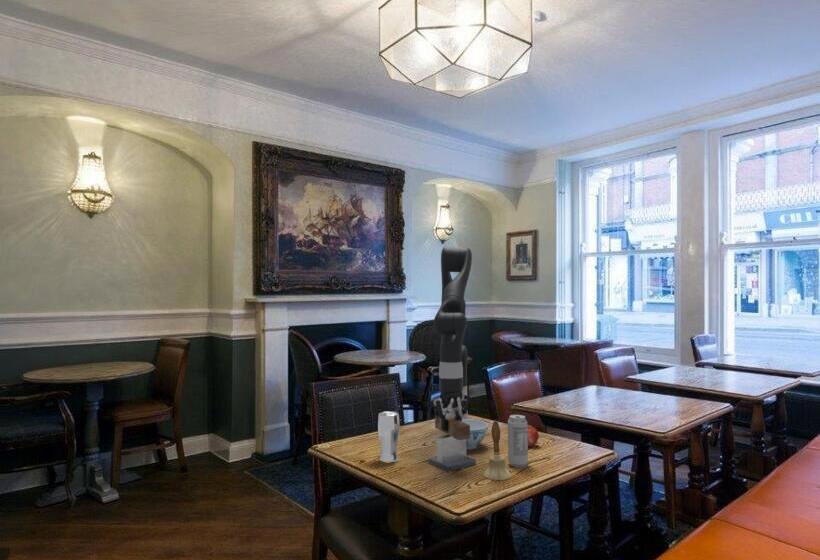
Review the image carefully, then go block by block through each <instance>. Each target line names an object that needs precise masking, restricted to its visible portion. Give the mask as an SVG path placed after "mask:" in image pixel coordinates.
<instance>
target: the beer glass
mask: <svg viewBox="0 0 820 560" xmlns="http://www.w3.org/2000/svg"><path fill="white" fill-rule="evenodd" d="M377 432H378V433H377V434H378V439H379V444H380V454H379V455H380V456H379V461H380V462H381V461H382V462H381V463H383V462H395V463H397V462H398V461H399V454H398V445H399V443H398V442H399V439H400V438H399V437H400V415H399V412H397V411H382V412H379V413H378V420H377ZM396 461H397V462H396Z"/></svg>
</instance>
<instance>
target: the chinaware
mask: <svg viewBox="0 0 820 560" xmlns="http://www.w3.org/2000/svg"><path fill="white" fill-rule="evenodd" d="M462 422H464V423H466V424H468V425H470V439H466V450H473V449H477V446H478V444H480V443H482V441H483V440H484V439H485V437H486V435H487V433H488V429H489V423H487V422H485V421H483V420H479V419H462Z"/></svg>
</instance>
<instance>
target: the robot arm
mask: <svg viewBox="0 0 820 560" xmlns="http://www.w3.org/2000/svg"><path fill="white" fill-rule="evenodd" d="M472 260H473V254H472V250H471V249H470V248H469V247H465V246H444V247H443V248H442V249H441V252H440V269H441V270H440V271H441V303H440V304H441V305H440V307H439V309H438V311H437V313H436V315H434V319H433V329H434V331H435V332H436V334H438V335H441V337H440V346H439V368H438V369H439V370H438V371H439V372H438V376H439V378H438V379H439V380H438V383H439V386H438V387H439V392H440V394H439V398H436V399H435V398H433V399H432V401H431V403H432V406H433V410H434V416H435V415H436V417H437V418H441V424H442V425H441V428H442V430H443V431H445V432H448V420H447V419H448V416H451V417H453V418H455V419H457V420H459V421H462V419H468V416H469V415H468V408H469V404H470V400H471V398H470V395H468V348H467V346H466V345H464V344H463V342H464V338H465V334H466V330H467V326H468V319H467V316H466V309H467V308H466V305H467V304H466V300H465V291H466V287H467V284H468V281H469V276H470V274H471V270H472V269H471V268H472V263H473V262H472ZM451 273H458V274H457V275H456V276H455V277H453V278H452V274H451ZM454 336H455V337H454ZM453 337H454V339H453ZM452 339H453V340H452Z"/></svg>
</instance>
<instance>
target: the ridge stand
mask: <svg viewBox="0 0 820 560" xmlns="http://www.w3.org/2000/svg"><path fill="white" fill-rule="evenodd" d="M428 464H429V465H432V466H434V467H436V468H439V469H442V470H443V471H445V470H446V471H445V472H448V473H449V472H450V473H451V472H454V471H458V470H461V469H464V468H469V467H472V466H475V465H477V460H476V459H475V458H473V457H470V456H467V449H466V439H464V440H457V439H455V438H453V437H452V436H450V435H448V434H444V435H440V436H437V437H436V456H433V457H428ZM457 469H458V470H457Z"/></svg>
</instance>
